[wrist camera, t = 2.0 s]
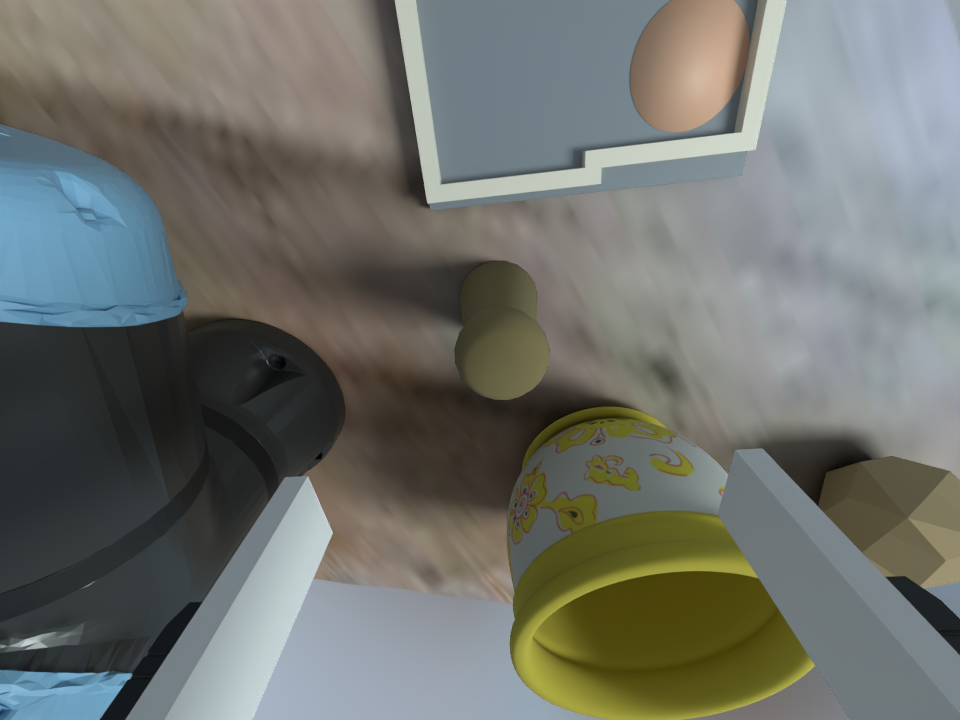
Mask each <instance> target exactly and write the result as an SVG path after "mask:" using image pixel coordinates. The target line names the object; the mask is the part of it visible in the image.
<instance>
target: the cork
mask: <svg viewBox="0 0 960 720" xmlns="http://www.w3.org/2000/svg"><path fill="white" fill-rule="evenodd" d="M460 309H461V314H462V320H463V326H464V327H463V329H462V330H461V331H460V333H459V336H458V339H457V342H456V346H455V364H456V366H457V369H458V371H459V374H460V376H461V379H462V380H463V381H464V382H465V383H466V385H467V386H468V387H469V388H470V389H471V390H473V391H475V392H476V393H478V394H480V395H481V396H483V397H487V398H491V399H494V400H509V399H513V398H517V397H520V396H522V395H524V394H526V393H527V392H529V391H531V390H532V389H534V387H535V386H536V385H537V384H538V383H539V382H540V381H541V380H542V378H543V376H544V374H545V372H546V370H547V368H548V363H549V352H550V349H549V346H548V342H547V338H546V335H545V332H544V331H543V330H542V328H541V327H540V325H539V324H538V323H537V321H536V314H537V291H536V287H535V283H534V281H533V280H532V278H531V277H530V275H529V274H528V273H527V272H526V271H525V270H524V269H522V268H521V267H520V266H518V265H516V264H513V263H510V262H507V261H491V262H488V263H485V264H482V265H480V266H478V267H477V268H476V269H474V270H473V271H472V272H470V273H469V275H468V276H467V278H466V279H465V280H464V282H463V284H462V288H461V291H460Z"/></svg>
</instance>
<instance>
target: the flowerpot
mask: <svg viewBox="0 0 960 720" xmlns="http://www.w3.org/2000/svg"><path fill="white" fill-rule="evenodd" d="M727 478H728V474H727V473H726V472H725V470H724V469H723V468H722V467H721V466H720V465H719V464H718V463H717V462H716V461H715V460H714V459H713V458H712V457H711V456H709V455H708V454H707V453H706V452H705V451H704V450H702V449H701V448H700V447H698V446H697V445H695V444H694V443H693V442H691V441H689V440H688V439H686V438H684V437H683V436H681V435H679V434H677V433H675V432H673V431H671V430H669V429H667V428H666V427H665V426H664V425H663V424H662V423H660V422H659V421H658V420H656V419H655V418H653V417H651V416H649V415H647V414H645V413H643V412H640V411H637V410H634V409H629V408H623V407H596V408H589V409H585V410H581V411H578V412H574V413H572V414H569V415H567V416H565V417H562V418H561V419H559V420H557V421H555V422H554V423H552V424H551V425H549V426H548V427H546V428H545V429H544V430H543V431H542V432H541V433H540V434H539V435H538V436H537V437H536V438H535V439H534V441H533V442H532V443H531V445H530V446H529V448H528V450H527V452H526V454H525V457H524V461H523V466H522V471H521V473H520V475H519V477H518V479H517V481H516V484H515V486H514V489H513V492H512V495H511V499H510V503H509V509H508V517H507V548H508V559H509V566H510V572H511V577H512V582H513V587H514V592H515V593H514V598H513V612H514V617H515V621H514V623H513V626H512V630H511V635H510V653H511V658H512V662H513V665H514V668H515V670H516V672H517V674H518V676H519V677H520V678H521V680H522V681H523V682H524V683H525V684H526V686H527V687H528V688H530V689H531V690H532V691H533V692H534V693H536V694H537V695H538V696H540V697H541V698H543V699H545V700H547V701H548V702H550V703H552V704H554V705H556V706H559V707H561V708H564V709H566V710H569V711H572V712H576V713H579V714H583V715H587V716H592V717H597V718H603V719H610V720H683V719H690V718H697V717H703V716H708V715H713V714H717V713H722V712H726V711H729V710H733V709H736V708H740V707H743V706H746V705H749V704H751V703H754V702H757V701H759V700H762V699H764V698H766V697H769V696H771V695H773V694H775V693H777V692H779V691H781V690H782V689H784V688H786V687H788V686H789V685H791V684H793V683H794V682H796V681H797V680H799V679H800V678H801V677H803V676H804V675H805V674H806V673H807V672H809V671H810V670H811V669H812V668H813V667H814V666H815V665H814V663H813V662H812V660H811V659H810V657H809V655H808V654H807V652H806V651H805V649H804V648H803V646H802V645H801V643H800V642H799V640H798V638H797V637H796V635H795V634H794V632H793V631H792V629H791V628H790V626H789V625H788V623H787V621H786V620H785V618H784V617H783V615H782V614H781V612H780V611H779V609H778V607H777V606H776V604H775V603H774V601H773V600H772V598H771V597H770V595H769V594H768V592H767V590H766V589H765V587H764V586H763V584H762V583H761V581H760V580H759V578H758V576H757V575H756V573H755V572H754V570H753V569H752V567H751V566H750V564H749V563H748V561H747V559H746V558H745V556H744V555H743V553H742V552H741V550H740V549H739V547H738V546H737V544H736V542H735V541H734V539H733V538H732V536H731V535H730V533H729V532H728V530H727V528H726V527H725V525H724V524H723V522H722V521H721V519H720V518H719V516H718V515H717V514H718V510H719V507H720V503H721V500H722V496H723V492H724V489H725V485H726V482H727Z"/></svg>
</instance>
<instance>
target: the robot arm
mask: <svg viewBox="0 0 960 720" xmlns="http://www.w3.org/2000/svg"><path fill="white" fill-rule="evenodd" d="M187 302H188V301H187V295H186V290H184V289H183V287H182V285H181V283H180V281H179V280H178V279H177V277H176V273H175V269H174V265H173V261H172V257H171V253H170V249H169V245H168V241H167V237H166V233H165V229H164V225H163V221H162V218H161V215H160V213H159V210H158V208H157V206H156V205H155V203H154V201H153V200H152V198H151V197H150V196H149V194H148V193H147V192H146V191H145V190H144V189H143V188H142V187H141V186H140V185H139V184H138V183H137V182H136V181H135V180H133V179H132V178H131V177H130V176H129V175H127V174H126V173H124V172H123V171H121V170H120V169H118V168H117V167H115V166H113V165H111V164H110V163H108V162H106V161H104V160H102V159H100V158H98V157H96V156H94V155H91V154H89V153H87V152H84V151H82V150H79V149H77V148H74V147H71V146H68V145H66V144H63V143H60V142H57V141H54V140H51V139H48V138H45V137H42V136H39V135H35V134H32V133H29V132H25V131H22V130H19V129H15V128H12V127H8V126H5V125H1V124H0V720H253V717H254V715H255V713H256V710H257V708H258V706H259V703H260V701H261V699H262V696H263V694H264V692H265V689H266V687H267V685H268V683H269V680H270V678H271V676H272V673H273V671H274V668H275V666H276V664H277V662H278V659H279V657H280V655H281V652H282V650H283V648H284V645H285V643H286V641H287V638H288V636H289V634H290V631H291V629H292V627H293V624H294V622H295V620H296V617H297V615H298V613H299V610H300V608H301V606H302V603H303V601H304V599H305V596H306V594H307V592H308V590H309V587H310V585H311V582H312V580H313V578H314V576H315V573H316V571H317V569H318V566H319V564H320V562H321V559H322V557H323V555H324V552H325V550H326V548H327V545H328V543H329V541H330V538H331V536H332V534H333V532H332V530H331V528H330V525H329V523H328V521H327V518H326V516H325V514H324V512H323V509H322V507H321V505H320V502H319V500H318V498H317V496H316V493H315V491H314V489H313V486H312V484H311V482H310V480H309V477H308V476H303V475H304V474H305V473H306V472H307V471H308V470H310V469H311V468H313V467H314V466H315V465H317V464H318V463H319V462H320V461H321V460H322V459H323V458H324V457H325V456H326V455H327V453H328V452H329V451H330V449H331V448H332V446H333V444H334V443H335V441H336V439H337V437H338V435H339V433H340V432H341V429H342V427H343V423H344V418H345V404H344V398H343V394H342V391H341V388H340V386H339V384H338V382H337V380H336V378H335V376H334V375H333V373H332V371H331V370H330V369H329V367H328V366H327V365H326V364H325V362H324V361H323V360H322V359H321V358H320V357H319V356H318V355H317V354H316V353H315V352H314V351H313V350H312V349H310V348H309V347H308V346H307V345H305V344H304V343H302V342H301V341H299V340H298V339H296V338H295V337H293V336H291V335H289V334H288V333H286V332H283V331H281V330H279V329H277V328H274V327H271V326H268V325H265V324H262V323H258V322H253V321H247V320H221V321H215V322H211V323H208V324H205V325H202V326H200V327H198V328H196V329H194V330H193V331H191V332H189V333H187V330H186V324H185V319H184V313H183V309H184V308H185V306H186V305H187ZM717 515H718V516H719V518H720V519H721V521H722V522H723V524H724V525H725V527H726V528H727V530H728V532H729V533H730V535H731V536H732V538H733V539H734V541H735V542H736V544H737V546H738V547H739V549H740V550H741V552H742V553H743V555H744V556H745V558H746V559H747V561H748V563H749V564H750V566H751V567H752V569H753V570H754V572H755V573H756V575H757V576H758V578H759V580H760V581H761V583H762V584H763V586H764V587H765V589H766V590H767V592H768V594H769V595H770V597H771V598H772V600H773V601H774V603H775V604H776V606H777V607H778V609H779V611H780V612H781V614H782V615H783V617H784V618H785V620H786V621H787V623H788V625H789V626H790V628H791V629H792V631H793V632H794V634H795V635H796V637H797V638H798V640H799V642H800V643H801V645H802V646H803V648H804V649H805V651H806V652H807V654H808V655H809V657H810V659H811V660H812V662H813V663H814V665H815V666H816V668H817V669H818V671H819V673H820V674H821V676H822V677H823V679H824V680H825V682H826V683H827V685H828V686H829V688H830V690H831V691H832V693H833V694H834V696H835V697H836V699H837V700H838V702H839V704H840V705H841V706H842V708H843V710H844V711H845V713H846V714H847V716H848V717H849V719H850V720H960V619H959V618H958V617H957V616H956V615H955V614H954V613H953V612H952V611H951V610H950V609H949V608H948V607H947V606H946V605H945V604H944V603H943V602H942V601H941V600H940V599H938V598H937V597H935V596H934V595H932V594H931V593H929V592H928V591H926V590H925V589H923V588H922V587H921V586H919V585H918V584H916V583H915V582H913V581H912V580H910V579H909V578H907V577H906V576H892V577H885V576H884V575H883V574H882V573H881V572H880V571H879V570H878V569H877V568H876V567H875V566H874V565H873V564H872V563H871V562H870V561H869V560H868V558H867V557H866V556H865V555H864V554H863V553H862V552H861V551H860V550H859V549H858V548H857V547H856V546H855V545H854V544H853V543H852V542H851V541H850V540H849V539H848V538H847V536H846V535H845V534H844V533H843V532H842V531H841V530H840V529H839V528H838V527H837V526H836V525H835V524H834V523H833V522H832V521H831V520H830V519H829V518H828V517H827V516H826V514H825V513H824V512H823V511H822V510H821V509H820V508H819V507H818V506H817V505H816V504H815V503H814V502H813V501H812V500H811V499H810V498H809V497H808V496H807V495H806V493H805V492H804V491H803V490H802V489H801V488H800V487H799V486H798V485H797V484H796V483H795V482H794V481H793V480H792V479H791V478H790V477H789V476H788V475H787V474H786V473H785V471H784V470H783V469H782V468H781V467H780V466H779V465H778V464H777V463H776V462H775V461H774V460H773V459H772V458H771V457H770V456H769V455H768V454H767V453H766V452H765V451H764V449H763V448H761V449H745V450H735V453H734V456H733V460H732V463H731V467H730V471H729V474H728V478H727V482H726V485H725V489H724V492H723V496H722V500H721V503H720V507H719V510H718V514H717Z"/></svg>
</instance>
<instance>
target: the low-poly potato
mask: <svg viewBox="0 0 960 720" xmlns="http://www.w3.org/2000/svg"><path fill="white" fill-rule="evenodd" d="M818 507H819V508H820V509H821V510H822V511H823V512H824V513H825V514H826V516H827V517H828V518H829V519H830V520H831V521H832V522H833V523H834V524H835V525H836V526H837V527H838V528H839V529H840V530H841V531H842V532H843V533H844V534H845V535H846V536H847V538H848V539H849V540H850V541H851V542H852V543H853V544H854V545H855V546H856V547H857V548H858V549H859V550H860V551H861V552H862V553H863V554H864V555H865V556H866V557H867V558H868V560H869V561H870V562H871V563H872V564H873V565H874V566H875V567H876V568H877V569H878V570H879V571H880V572H881V573H882V574H883V575H884V576H885V577H892V576H906V577H907V578H909V579H910V580H912V581H913V582H915V583H916V584H918V585H919V586H921V587H922V588H923V589H924V588H929V587H934V586H939V585H945V584H950V583H955V582H960V480H959V479H958V478H957V477H956V476H955V475H954V474H953V473H951V472H950V471H947V470H943V469H940V468H936V467H932V466H928V465H924V464H920V463H917V462H913V461H909V460H905V459H901V458H897V457H894V456H890V457H884V458H879V459H874V460H868V461H863V462H859V463H855V464H852V465H849V466H845V467H842V468H839V469H835V470H832V471H829V472H826V475H825V479H824V483H823V487H822V491H821V496H820V500H819V504H818Z"/></svg>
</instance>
